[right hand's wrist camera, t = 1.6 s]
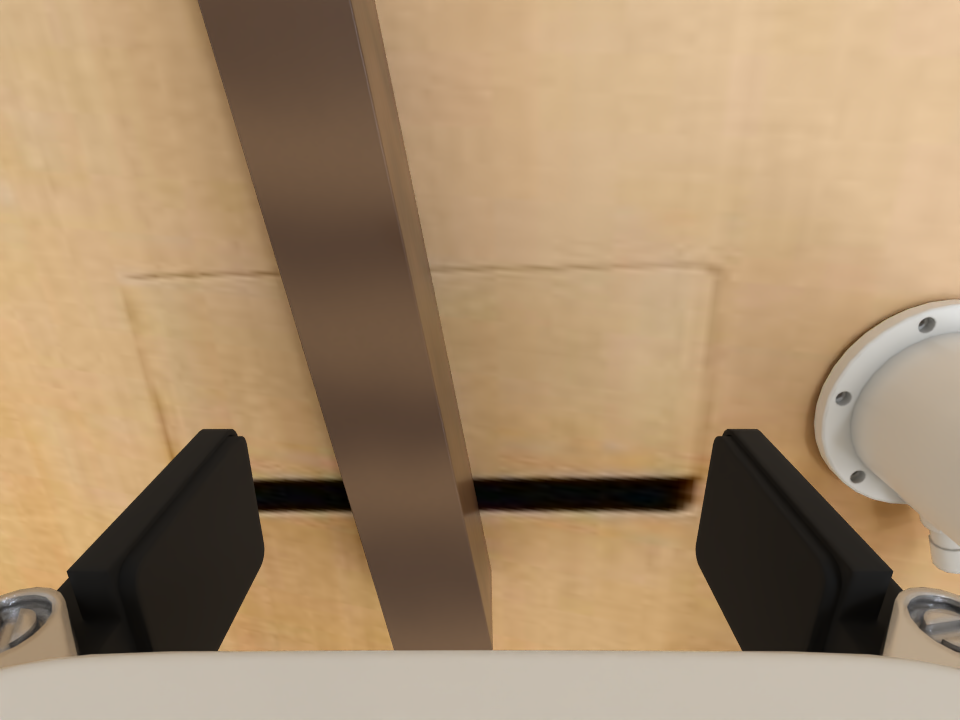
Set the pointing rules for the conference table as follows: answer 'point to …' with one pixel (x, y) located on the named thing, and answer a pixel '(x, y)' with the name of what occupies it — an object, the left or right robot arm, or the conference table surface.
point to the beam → (361, 299)
